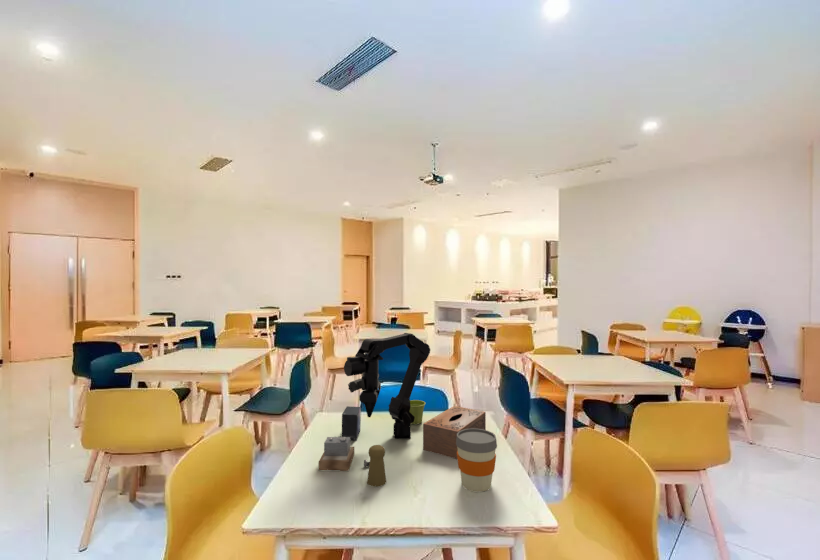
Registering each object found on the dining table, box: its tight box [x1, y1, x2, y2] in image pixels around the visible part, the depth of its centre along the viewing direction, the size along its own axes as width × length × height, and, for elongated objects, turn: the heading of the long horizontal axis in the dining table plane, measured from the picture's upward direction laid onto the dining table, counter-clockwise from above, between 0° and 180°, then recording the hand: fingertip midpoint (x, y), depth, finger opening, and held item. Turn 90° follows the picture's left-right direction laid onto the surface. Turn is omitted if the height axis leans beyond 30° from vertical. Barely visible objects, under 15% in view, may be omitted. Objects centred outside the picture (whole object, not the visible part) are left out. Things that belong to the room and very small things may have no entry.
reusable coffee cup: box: [456, 428, 498, 493], centre depth 121 cm, size 13×13×15 cm
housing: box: [323, 436, 351, 456], centre depth 135 cm, size 5×8×5 cm, turn 89°
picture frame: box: [318, 446, 355, 472], centre depth 135 cm, size 10×12×3 cm
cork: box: [366, 444, 387, 488], centre depth 122 cm, size 6×6×11 cm
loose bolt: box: [363, 459, 370, 468], centre depth 133 cm, size 6×2×2 cm, turn 109°
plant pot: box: [410, 399, 426, 425], centre depth 175 cm, size 9×9×9 cm
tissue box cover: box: [422, 405, 487, 460], centre depth 153 cm, size 26×14×10 cm, turn 147°
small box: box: [341, 405, 362, 442], centre depth 159 cm, size 11×6×10 cm, turn 179°
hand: (370, 413), depth 149 cm, fingers open, 9 cm apart
